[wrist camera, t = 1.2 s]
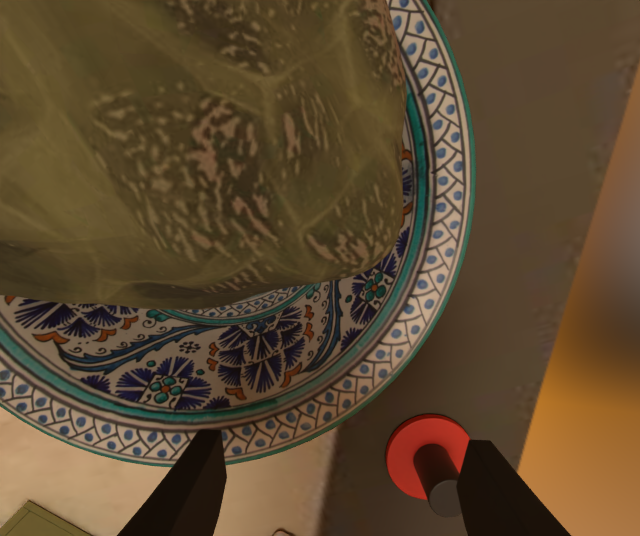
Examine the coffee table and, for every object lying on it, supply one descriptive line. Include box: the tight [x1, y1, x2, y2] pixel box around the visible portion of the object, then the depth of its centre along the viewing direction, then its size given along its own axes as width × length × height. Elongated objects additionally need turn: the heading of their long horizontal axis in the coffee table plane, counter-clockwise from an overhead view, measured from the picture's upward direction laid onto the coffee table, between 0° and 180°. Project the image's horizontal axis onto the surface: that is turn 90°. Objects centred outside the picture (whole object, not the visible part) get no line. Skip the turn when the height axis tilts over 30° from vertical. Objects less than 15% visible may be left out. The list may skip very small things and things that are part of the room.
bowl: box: [0, 0, 476, 467], centre depth 20 cm, size 25×25×10 cm
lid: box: [386, 414, 471, 517], centre depth 25 cm, size 6×6×4 cm
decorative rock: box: [0, 0, 407, 310], centre depth 10 cm, size 15×16×10 cm
